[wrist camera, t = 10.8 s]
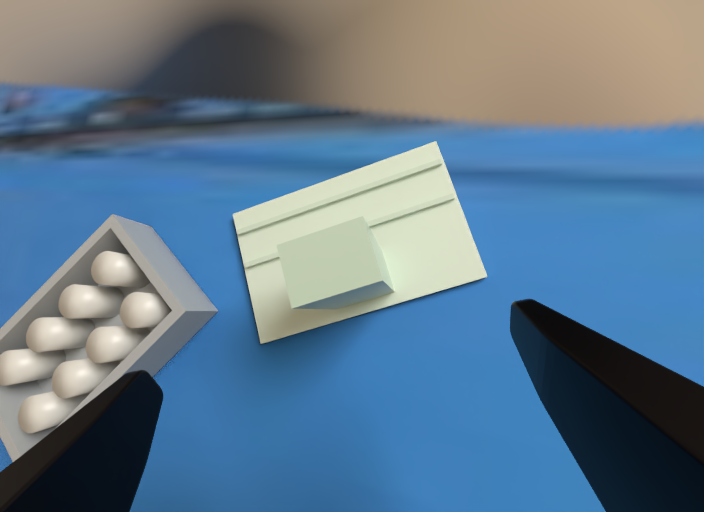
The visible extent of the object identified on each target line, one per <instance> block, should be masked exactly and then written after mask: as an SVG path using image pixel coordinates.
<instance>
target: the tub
mask: <svg viewBox="0 0 704 512" xmlns="http://www.w3.org/2000/svg"><path fill="white" fill-rule="evenodd" d="M217 312H218V310H217V309H216V308H215V306H214V305H213V304H212V303H211V301H210V300H209V299H208V297H207V296H206V295H205V294H204V292H203V291H202V290H201V289H200V287H199V286H198V285H197V284H196V282H195V281H194V280H193V279H192V277H191V276H190V275H189V273H188V272H187V271H186V270H185V268H184V267H183V266H182V265H181V263H180V262H179V261H178V260H177V258H176V257H175V256H174V255H173V253H172V252H171V251H170V250H169V248H168V247H167V246H166V244H165V243H164V242H163V241H162V239H161V238H160V237H159V236H158V234H157V233H156V232H155V231H154V229H153V228H152V227H151V226H148V225H145V224H142V223H139V222H135V221H132V220H129V219H126V218H123V217H120V216H117V215H114V214H112V215H111V216H110V217H109V218H108V219H107V220H106V221H105V222H104V223H103V224H102V225H101V226H100V227H99V228H98V229H97V230H96V231H95V232H94V233H93V235H92V236H91V237H90V238H89V239H88V240H87V241H86V242H85V243H84V244H83V245H82V246H81V247H80V248H79V249H78V250H77V251H76V252H75V253H74V254H73V255H72V256H71V257H70V258H69V259H68V260H67V261H66V262H65V263H64V264H63V265H62V266H61V267H60V268H59V269H58V270H57V271H56V272H55V273H54V274H53V275H52V276H51V277H50V278H49V280H48V281H47V282H46V283H45V284H44V285H43V286H42V287H41V288H40V289H39V290H38V291H37V292H36V293H35V294H34V295H33V296H32V297H31V298H30V299H29V300H28V301H27V302H26V303H25V304H24V305H23V306H22V307H21V308H20V309H19V310H18V311H17V312H16V313H15V314H14V315H13V316H12V317H11V318H10V319H9V320H8V321H7V322H6V324H5V325H4V326H3V327H2V328H1V329H0V437H1V439H2V441H3V443H4V445H5V447H6V449H7V451H8V453H9V455H10V457H11V459H12V461H13V462H14V461H15V460H17V459H18V458H19V457H20V456H22V455H23V454H24V453H25V452H27V451H28V450H29V449H30V448H32V447H33V446H34V445H36V444H37V443H38V442H39V441H41V440H42V439H43V438H44V437H46V436H47V435H48V434H49V433H51V432H52V431H53V430H55V429H56V428H57V427H58V426H60V425H61V424H62V423H63V422H65V421H66V420H67V419H68V418H70V417H71V416H72V415H73V414H75V413H76V412H77V411H79V410H80V409H81V408H82V407H84V406H85V405H86V404H87V403H89V402H90V401H91V400H92V399H94V398H95V397H96V396H98V395H99V394H100V393H101V392H103V391H104V390H105V389H106V388H108V387H109V386H110V385H111V384H113V383H114V382H115V381H117V380H118V379H119V378H120V377H122V376H123V375H124V374H126V373H128V372H131V371H137V370H146V371H147V372H148V373H149V374H150V375H151V376H152V377H153V376H154V375H155V374H156V373H157V372H158V371H159V370H160V369H161V368H162V367H163V366H164V365H165V364H166V363H167V362H168V361H169V360H170V359H171V358H172V357H173V356H174V355H175V354H176V353H177V352H178V351H179V350H180V349H181V348H182V347H183V346H184V345H185V344H186V343H187V342H188V341H189V340H190V339H191V338H192V337H193V336H194V335H195V334H196V333H197V332H198V331H199V330H200V329H201V328H202V327H203V326H204V325H205V324H206V323H207V322H208V321H209V320H210V319H211V318H212V317H213V316H214V315H215V314H216V313H217Z"/></svg>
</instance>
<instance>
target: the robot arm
mask: <svg viewBox="0 0 704 512" xmlns="http://www.w3.org/2000/svg"><path fill="white" fill-rule="evenodd" d="M510 332H511V336H512V338H513V341H514V343H515V345H516V347H517V350H518V352H519V354H520V356H521V358H522V361H523V363H524V365H525V367H526V369H527V372H528V374H529V376H530V378H531V381H532V383H533V385H534V387H535V389H536V391H537V394H538V396H539V398H540V400H541V402H542V403H543V405H544V407H545V409H546V411H547V412H548V414H549V416H550V417H551V419H552V421H553V422H554V424H555V426H556V428H557V429H558V431H559V433H560V434H561V436H562V438H563V439H564V441H565V443H566V445H567V446H568V448H569V450H570V451H571V453H572V455H573V456H574V458H575V460H576V462H577V463H578V465H579V467H580V468H581V470H582V472H583V473H584V475H585V477H586V479H587V480H588V482H589V484H590V485H591V487H592V489H593V490H594V492H595V494H596V496H597V497H598V499H599V501H600V502H601V504H602V506H603V507H604V509H605V511H606V512H704V387H703V386H701V385H699V384H697V383H696V382H694V381H692V380H690V379H688V378H686V377H684V376H682V375H680V374H678V373H676V372H674V371H672V370H670V369H668V368H666V367H664V366H662V365H660V364H658V363H656V362H654V361H652V360H651V359H649V358H647V357H645V356H643V355H641V354H639V353H637V352H635V351H633V350H631V349H629V348H627V347H625V346H623V345H621V344H619V343H617V342H615V341H613V340H611V339H609V338H607V337H606V336H604V335H602V334H600V333H598V332H596V331H594V330H592V329H590V328H588V327H586V326H584V325H582V324H580V323H578V322H576V321H574V320H572V319H570V318H568V317H566V316H564V315H562V314H561V313H559V312H557V311H555V310H553V309H551V308H549V307H547V306H545V305H543V304H541V303H539V302H537V301H535V300H533V299H525V300H519V301H515V302H513V303H512V305H511V316H510ZM162 401H163V392H162V389H161V388H160V386H159V385H158V384H157V383H156V381H155V380H154V379H153V377H152V376H151V375H150V374H149V373H148V372H147V371H146V370H137V371H131V372H128V373H126V374H124V375H123V376H122V377H120V378H119V379H118V380H117V381H115V382H114V383H113V384H111V385H110V386H109V387H108V388H106V389H105V390H104V391H103V392H101V393H100V394H99V395H98V396H96V397H95V398H94V399H92V400H91V401H90V402H89V403H87V404H86V405H85V406H84V407H82V408H81V409H80V410H79V411H77V412H76V413H75V414H73V415H72V416H71V417H70V418H68V419H67V420H66V421H65V422H63V423H62V424H61V425H60V426H58V427H57V428H56V429H55V430H53V431H52V432H51V433H49V434H48V435H47V436H46V437H44V438H43V439H42V440H41V441H39V442H38V443H37V444H36V445H34V446H33V447H32V448H30V449H29V450H28V451H27V452H25V453H24V454H23V455H22V456H20V457H19V458H18V459H17V460H15V461H14V462H13V463H11V464H10V465H9V466H8V467H6V468H5V469H4V470H3V471H1V472H0V512H130V509H131V506H132V503H133V500H134V497H135V495H136V492H137V489H138V486H139V483H140V480H141V478H142V475H143V472H144V469H145V466H146V463H147V459H148V456H149V452H150V448H151V444H152V440H153V436H154V433H155V429H156V425H157V421H158V417H159V413H160V409H161V405H162Z"/></svg>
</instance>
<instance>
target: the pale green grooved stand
mask: <svg viewBox="0 0 704 512" xmlns="http://www.w3.org/2000/svg"><path fill="white" fill-rule="evenodd" d="M233 218H234V222H235V227H236V231H237V236H238V241H239V245H240V250H241V255H242V259H243V264H244V269H245V273H246V278H247V282H248V287H249V292H250V296H251V301H252V306H253V310H254V315H255V320H256V324H257V329H258V334H259V338H260V343H261V344H263V343H267V342H270V341H273V340H277V339H280V338H283V337H287V336H290V335H294V334H297V333H300V332H304V331H307V330H310V329H314V328H317V327H321V326H324V325H327V324H331V323H334V322H337V321H341V320H344V319H348V318H351V317H354V316H358V315H361V314H364V313H368V312H371V311H375V310H378V309H381V308H385V307H388V306H391V305H395V304H398V303H401V302H405V301H408V300H412V299H415V298H418V297H422V296H425V295H428V294H432V293H435V292H439V291H442V290H445V289H449V288H452V287H455V286H459V285H462V284H466V283H469V282H472V281H476V280H479V279H482V278H486V277H487V274H486V271H485V269H484V266H483V264H482V261H481V258H480V256H479V253H478V250H477V248H476V245H475V242H474V240H473V237H472V235H471V232H470V229H469V227H468V224H467V221H466V219H465V216H464V213H463V211H462V208H461V205H460V203H459V200H458V198H457V195H456V192H455V190H454V187H453V184H452V182H451V179H450V176H449V174H448V171H447V168H446V166H445V163H444V161H443V158H442V155H441V153H440V150H439V147H438V145H437V142H436V141H435V142H432V143H429V144H427V145H424V146H421V147H418V148H416V149H413V150H410V151H407V152H404V153H402V154H399V155H396V156H393V157H390V158H388V159H385V160H382V161H379V162H377V163H374V164H371V165H368V166H365V167H363V168H360V169H357V170H354V171H351V172H349V173H346V174H343V175H340V176H338V177H335V178H332V179H329V180H326V181H324V182H321V183H318V184H315V185H313V186H310V187H307V188H304V189H301V190H299V191H296V192H293V193H290V194H287V195H285V196H282V197H279V198H276V199H274V200H271V201H268V202H265V203H262V204H260V205H257V206H254V207H251V208H248V209H246V210H243V211H240V212H237V213H235V214H233Z"/></svg>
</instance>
